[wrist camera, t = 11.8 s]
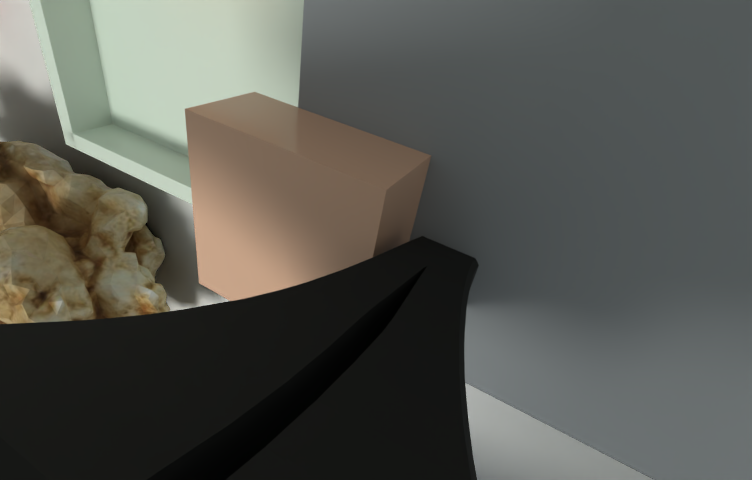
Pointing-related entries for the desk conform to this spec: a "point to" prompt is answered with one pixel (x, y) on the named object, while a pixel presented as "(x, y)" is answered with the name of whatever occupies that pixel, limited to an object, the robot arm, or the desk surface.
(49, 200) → the mineral formation
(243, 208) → the tile
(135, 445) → the robot arm
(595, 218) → the board
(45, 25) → the tray
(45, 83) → the desk surface
